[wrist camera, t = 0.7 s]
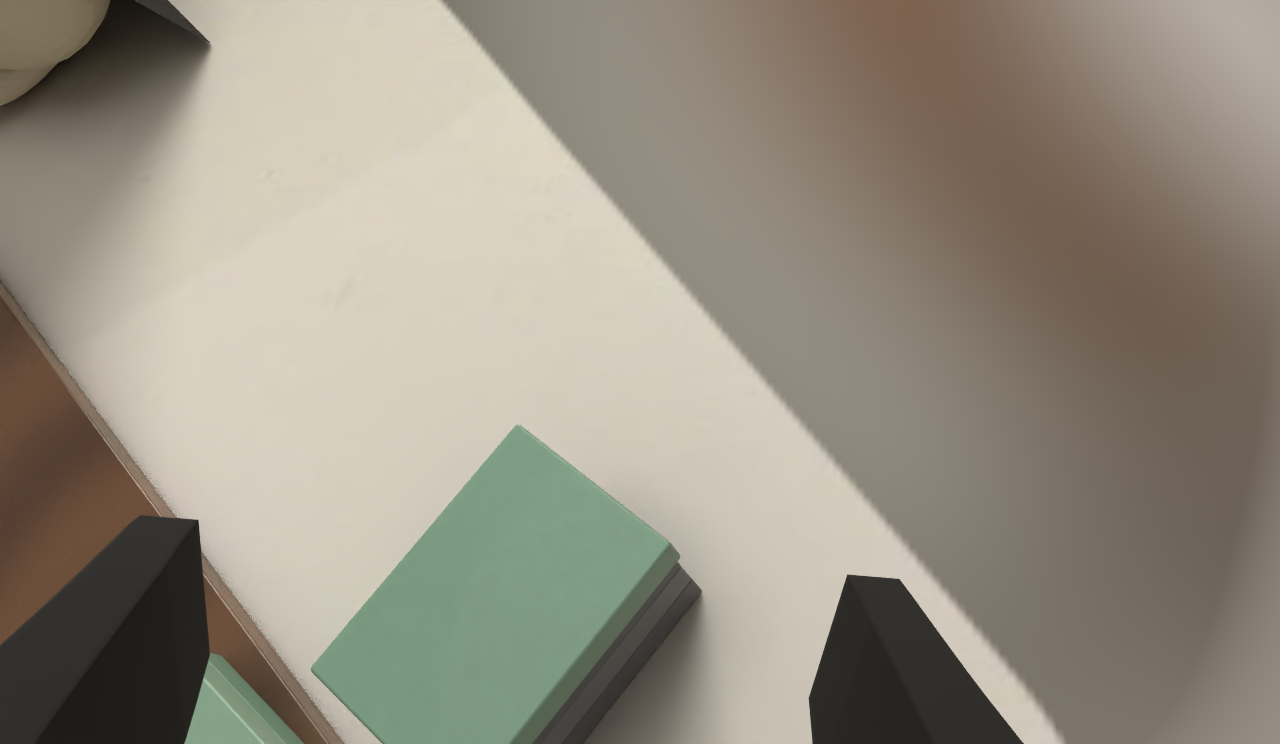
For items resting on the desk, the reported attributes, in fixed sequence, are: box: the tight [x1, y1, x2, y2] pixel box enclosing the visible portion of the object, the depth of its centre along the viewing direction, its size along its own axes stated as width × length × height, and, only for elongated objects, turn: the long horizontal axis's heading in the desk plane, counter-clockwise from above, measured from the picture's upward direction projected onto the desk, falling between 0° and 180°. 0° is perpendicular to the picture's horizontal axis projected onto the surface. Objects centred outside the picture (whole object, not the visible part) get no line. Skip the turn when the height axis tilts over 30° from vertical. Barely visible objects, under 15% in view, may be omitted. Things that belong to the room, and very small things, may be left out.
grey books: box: [532, 562, 702, 744], centre depth 28 cm, size 4×7×4 cm, turn 140°
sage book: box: [311, 425, 680, 744], centre depth 26 cm, size 5×7×1 cm, turn 140°
